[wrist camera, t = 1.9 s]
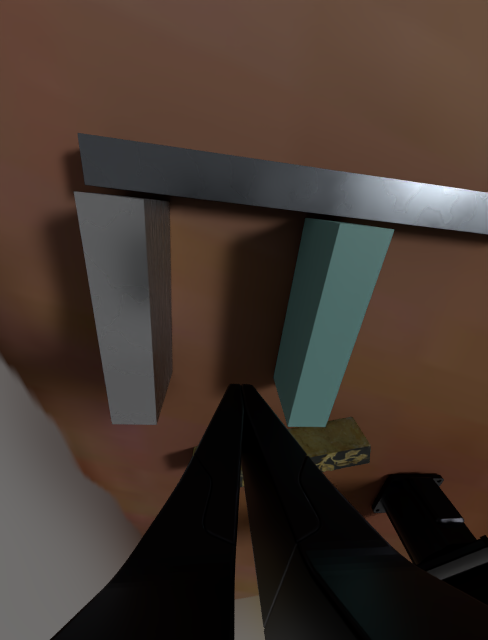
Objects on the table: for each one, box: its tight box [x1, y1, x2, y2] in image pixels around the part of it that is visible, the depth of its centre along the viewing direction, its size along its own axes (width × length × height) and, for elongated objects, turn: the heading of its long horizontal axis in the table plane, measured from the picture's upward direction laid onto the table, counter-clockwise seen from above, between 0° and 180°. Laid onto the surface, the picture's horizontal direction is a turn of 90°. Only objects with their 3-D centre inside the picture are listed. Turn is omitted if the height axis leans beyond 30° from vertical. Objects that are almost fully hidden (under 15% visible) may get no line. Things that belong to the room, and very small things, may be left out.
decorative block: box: [193, 417, 371, 487], centre depth 22 cm, size 15×2×4 cm, turn 100°
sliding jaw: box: [273, 218, 394, 427], centre depth 15 cm, size 12×2×5 cm, turn 174°
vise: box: [74, 133, 488, 425], centre depth 15 cm, size 14×26×5 cm, turn 84°
